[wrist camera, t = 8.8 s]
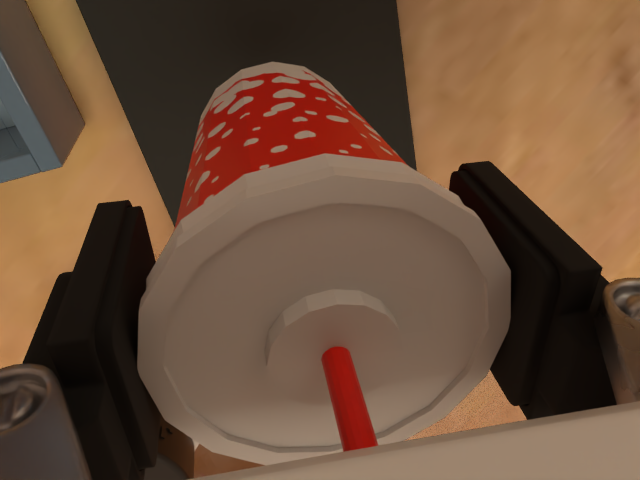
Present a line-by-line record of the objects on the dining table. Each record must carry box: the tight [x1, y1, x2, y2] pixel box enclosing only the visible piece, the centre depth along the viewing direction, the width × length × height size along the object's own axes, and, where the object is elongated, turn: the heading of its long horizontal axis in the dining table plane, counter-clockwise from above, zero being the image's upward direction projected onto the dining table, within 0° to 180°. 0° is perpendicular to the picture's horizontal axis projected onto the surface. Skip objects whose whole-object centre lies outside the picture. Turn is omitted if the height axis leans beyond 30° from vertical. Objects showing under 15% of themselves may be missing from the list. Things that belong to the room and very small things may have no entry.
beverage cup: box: [137, 62, 511, 465], centre depth 10 cm, size 6×6×14 cm
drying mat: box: [76, 0, 417, 227], centre depth 26 cm, size 14×20×1 cm
